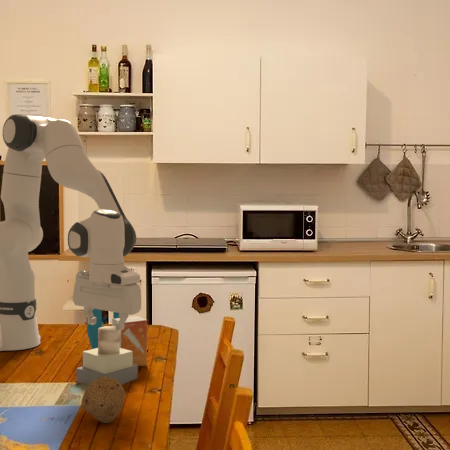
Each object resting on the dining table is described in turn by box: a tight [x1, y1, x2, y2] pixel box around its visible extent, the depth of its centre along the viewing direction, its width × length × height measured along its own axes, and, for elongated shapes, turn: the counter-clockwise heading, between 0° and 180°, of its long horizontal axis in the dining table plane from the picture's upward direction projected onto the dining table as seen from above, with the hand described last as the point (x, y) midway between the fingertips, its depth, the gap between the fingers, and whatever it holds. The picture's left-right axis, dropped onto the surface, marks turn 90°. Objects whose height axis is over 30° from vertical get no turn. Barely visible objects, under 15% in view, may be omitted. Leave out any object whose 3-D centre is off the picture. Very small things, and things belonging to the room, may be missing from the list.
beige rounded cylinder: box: [98, 325, 120, 355], centre depth 164 cm, size 6×6×6 cm
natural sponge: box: [81, 377, 126, 424], centre depth 136 cm, size 9×9×10 cm
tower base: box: [76, 364, 139, 386], centre depth 165 cm, size 11×11×4 cm
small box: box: [111, 315, 148, 367], centre depth 178 cm, size 8×6×13 cm
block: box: [86, 309, 121, 349], centre depth 191 cm, size 12×5×20 cm, turn 101°
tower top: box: [82, 348, 133, 374], centre depth 164 cm, size 9×9×4 cm
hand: (105, 326), depth 163 cm, fingers open, 8 cm apart
